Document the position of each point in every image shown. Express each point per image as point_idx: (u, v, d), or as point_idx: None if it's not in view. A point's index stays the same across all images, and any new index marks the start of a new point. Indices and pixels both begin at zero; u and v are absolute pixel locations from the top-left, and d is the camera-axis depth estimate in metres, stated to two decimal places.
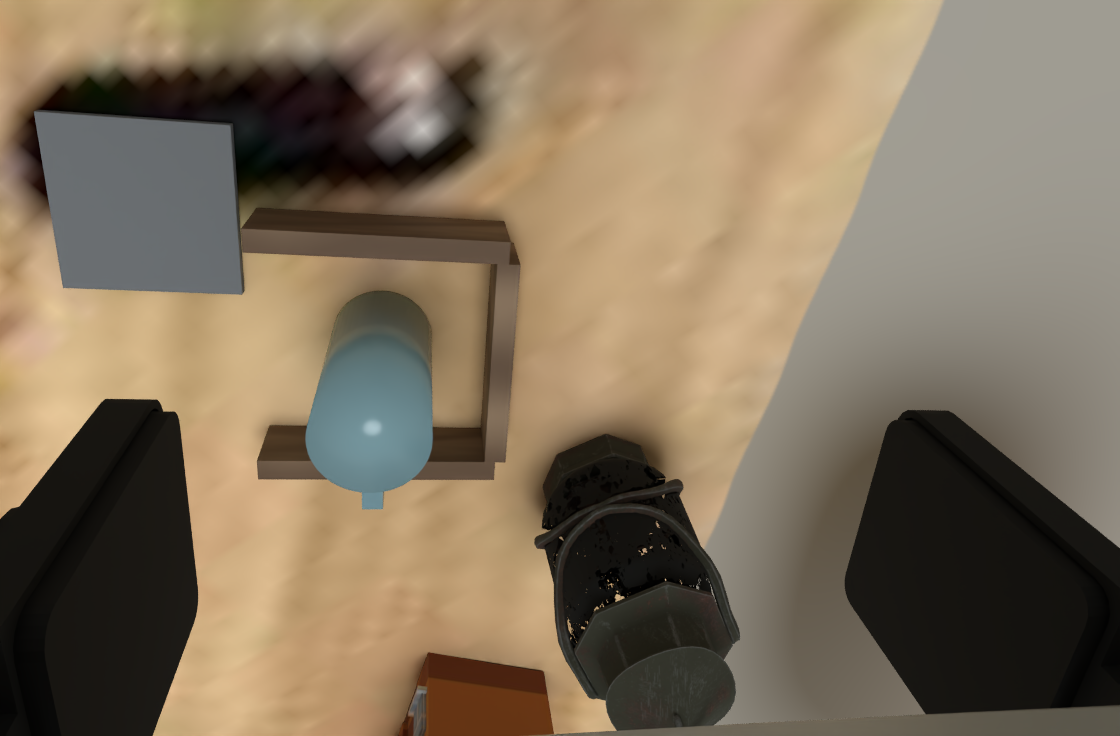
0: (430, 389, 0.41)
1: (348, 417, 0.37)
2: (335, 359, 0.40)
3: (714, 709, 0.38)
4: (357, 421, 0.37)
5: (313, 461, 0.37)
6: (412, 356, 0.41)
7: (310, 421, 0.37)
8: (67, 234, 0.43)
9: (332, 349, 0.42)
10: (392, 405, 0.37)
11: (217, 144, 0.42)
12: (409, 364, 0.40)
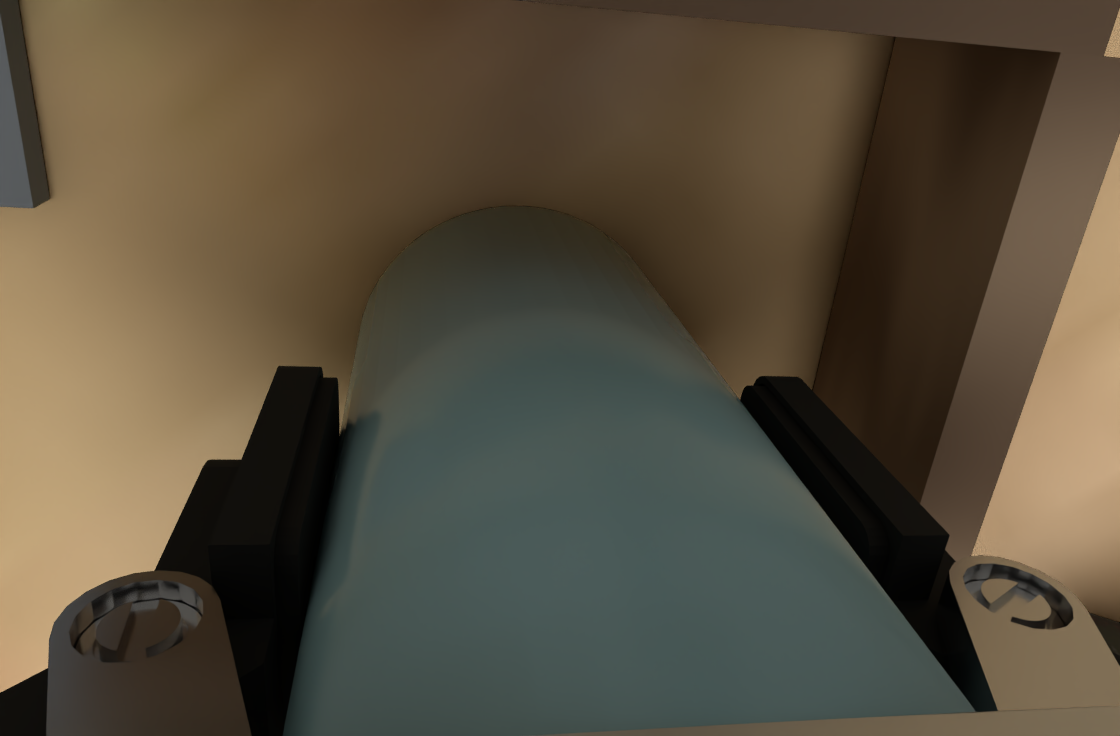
0: None
1: None
2: (399, 500, 0.07)
3: None
4: None
5: None
6: (783, 464, 0.08)
7: None
8: None
9: (371, 426, 0.09)
10: None
11: None
12: (827, 528, 0.07)
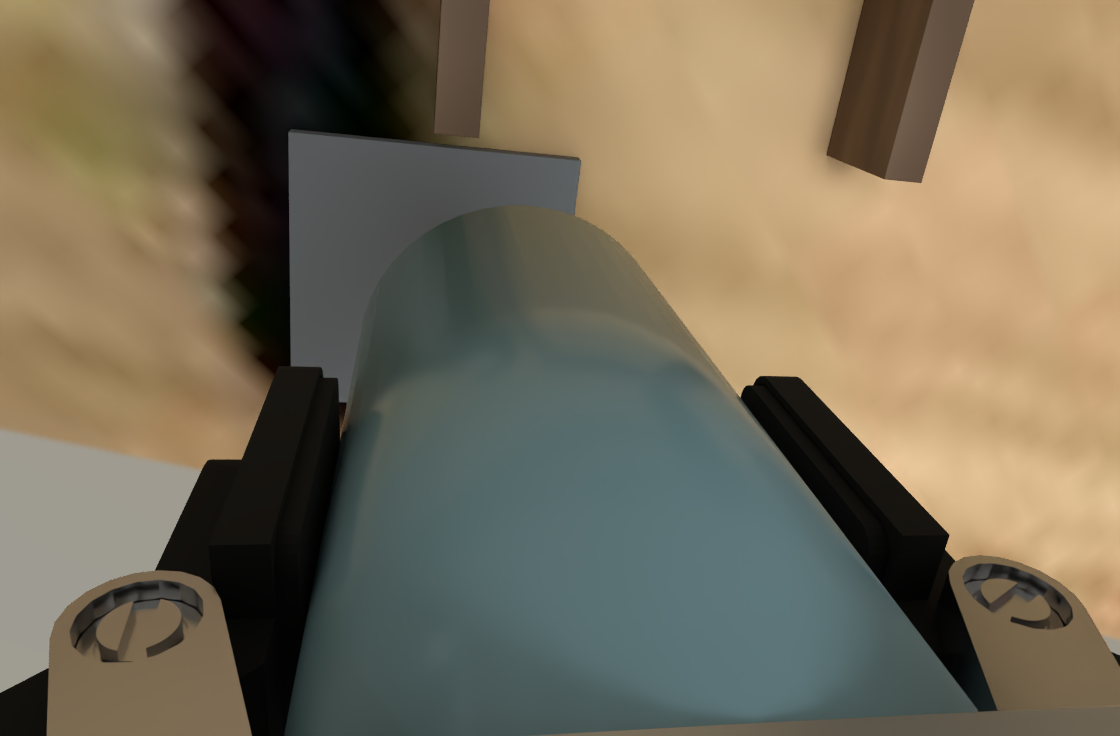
0: None
1: None
2: (401, 498, 0.07)
3: None
4: None
5: None
6: (785, 463, 0.08)
7: None
8: None
9: (373, 424, 0.09)
10: None
11: (322, 158, 0.25)
12: (829, 526, 0.07)
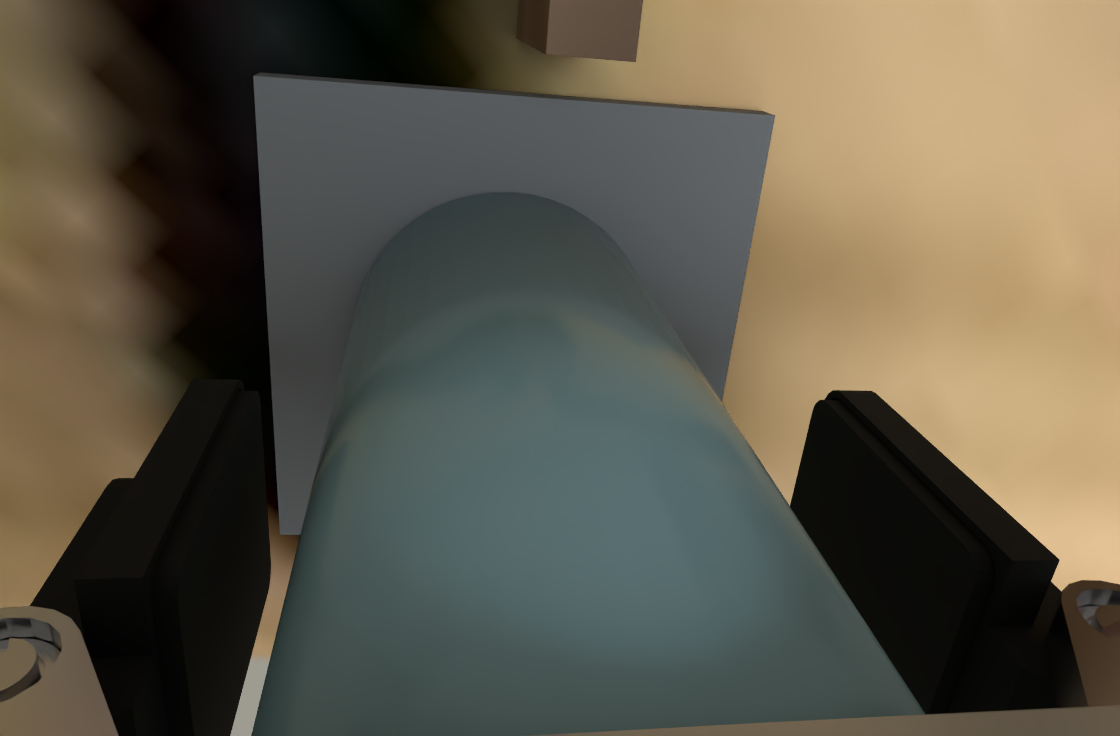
0: None
1: None
2: (375, 461, 0.08)
3: None
4: None
5: None
6: (734, 434, 0.09)
7: None
8: None
9: (357, 397, 0.10)
10: None
11: (317, 123, 0.14)
12: (765, 489, 0.08)
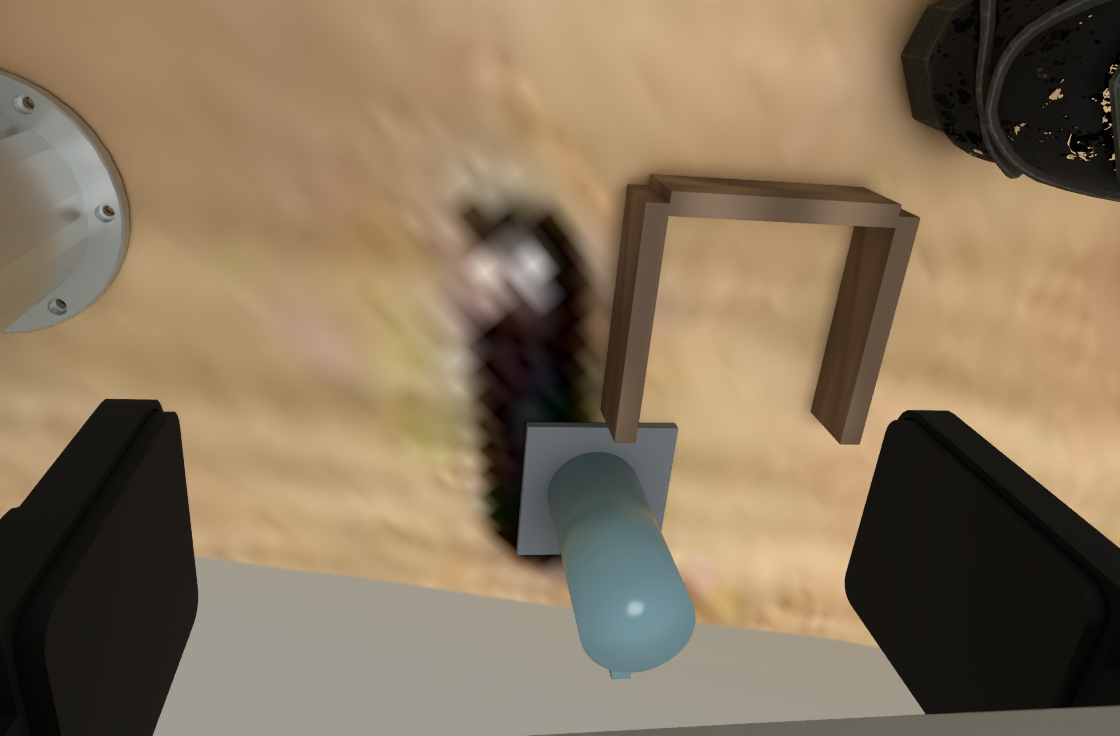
0: None
1: (620, 607, 0.39)
2: (587, 540, 0.42)
3: None
4: (629, 610, 0.39)
5: (584, 648, 0.39)
6: (655, 531, 0.43)
7: (586, 613, 0.39)
8: None
9: (574, 524, 0.44)
10: (662, 594, 0.39)
11: (543, 437, 0.48)
12: (659, 543, 0.42)
